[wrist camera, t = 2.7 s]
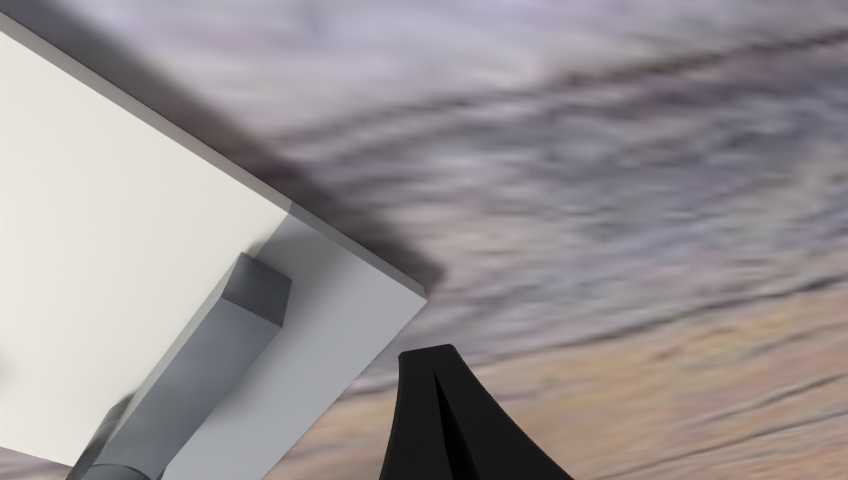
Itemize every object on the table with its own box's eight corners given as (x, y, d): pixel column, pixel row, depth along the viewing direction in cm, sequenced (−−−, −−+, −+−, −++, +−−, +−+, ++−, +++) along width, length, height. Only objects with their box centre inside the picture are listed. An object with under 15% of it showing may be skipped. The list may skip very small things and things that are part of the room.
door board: (422, 285, 18) (442, 346, 14) (237, 487, 21) (216, 576, 18) (-101, -54, 11) (-322, -98, 7) (-252, 338, 14) (-450, 439, 11)
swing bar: (162, 455, 18) (132, 523, 15) (91, 433, 17) (47, 503, 14) (301, 285, 15) (293, 333, 13) (230, 245, 14) (207, 290, 12)
